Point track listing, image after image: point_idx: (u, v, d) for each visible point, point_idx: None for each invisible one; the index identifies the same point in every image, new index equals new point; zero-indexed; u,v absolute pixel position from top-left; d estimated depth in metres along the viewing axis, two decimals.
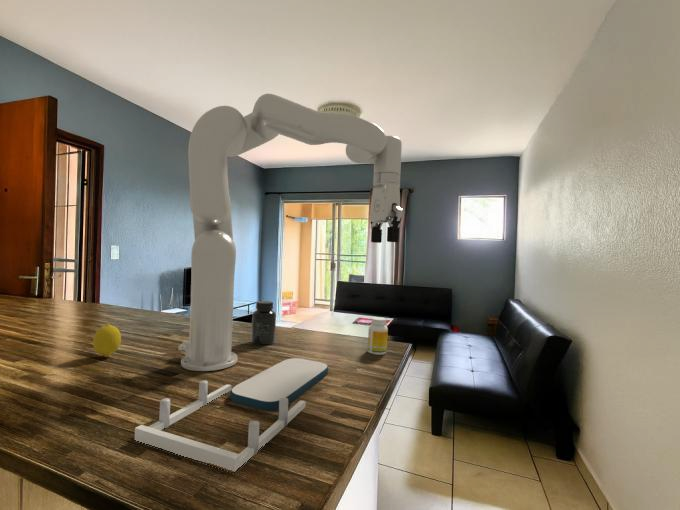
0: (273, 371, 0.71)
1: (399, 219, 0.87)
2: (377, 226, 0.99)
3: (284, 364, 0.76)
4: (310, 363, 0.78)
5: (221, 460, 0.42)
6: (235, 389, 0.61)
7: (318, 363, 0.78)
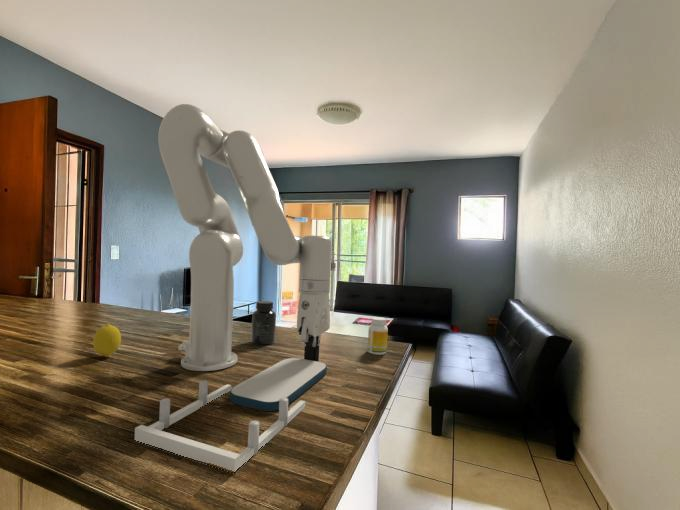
0: (272, 371, 0.71)
1: None
2: None
3: (283, 364, 0.76)
4: (308, 363, 0.77)
5: (221, 460, 0.42)
6: (234, 390, 0.61)
7: (316, 363, 0.78)
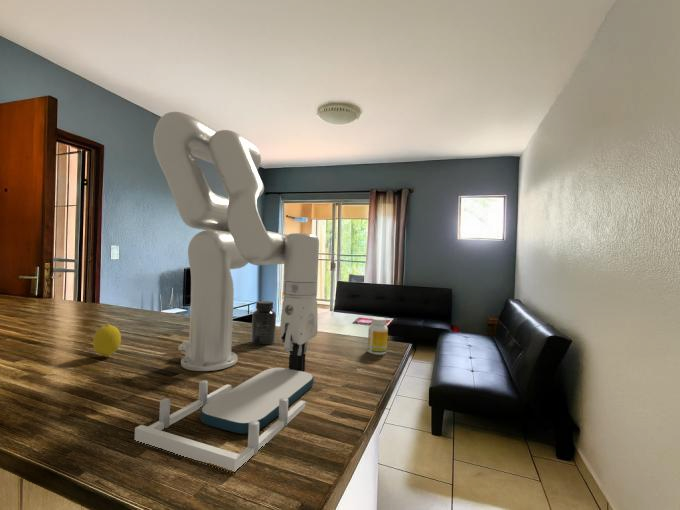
0: (252, 384, 0.64)
1: None
2: None
3: (265, 375, 0.69)
4: (293, 373, 0.70)
5: (221, 460, 0.42)
6: (206, 408, 0.53)
7: (302, 373, 0.70)
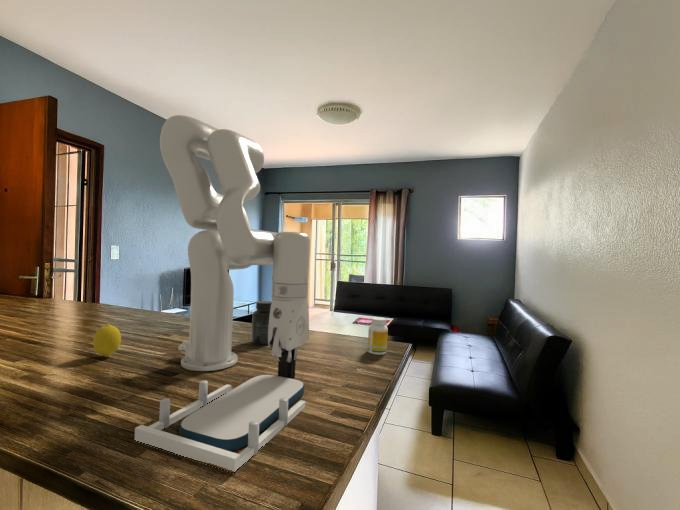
0: (238, 394, 0.59)
1: None
2: None
3: (252, 383, 0.64)
4: (283, 381, 0.66)
5: (221, 460, 0.42)
6: (186, 422, 0.49)
7: (292, 381, 0.66)
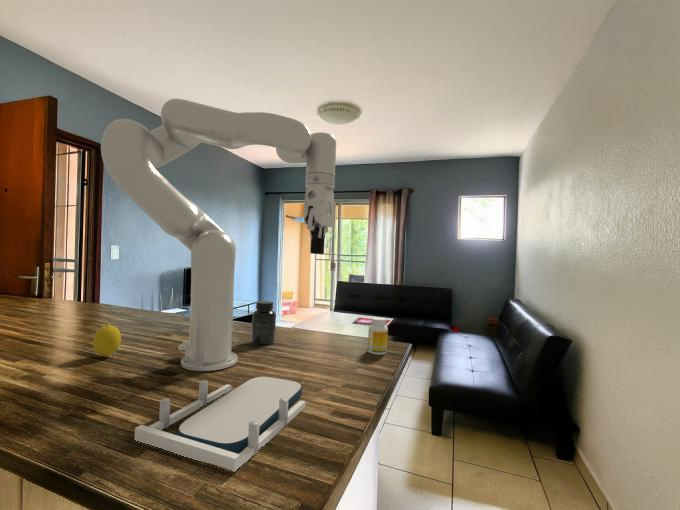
0: (235, 397, 0.58)
1: None
2: None
3: (249, 386, 0.63)
4: (280, 383, 0.65)
5: (221, 460, 0.42)
6: (184, 427, 0.48)
7: (290, 382, 0.66)
